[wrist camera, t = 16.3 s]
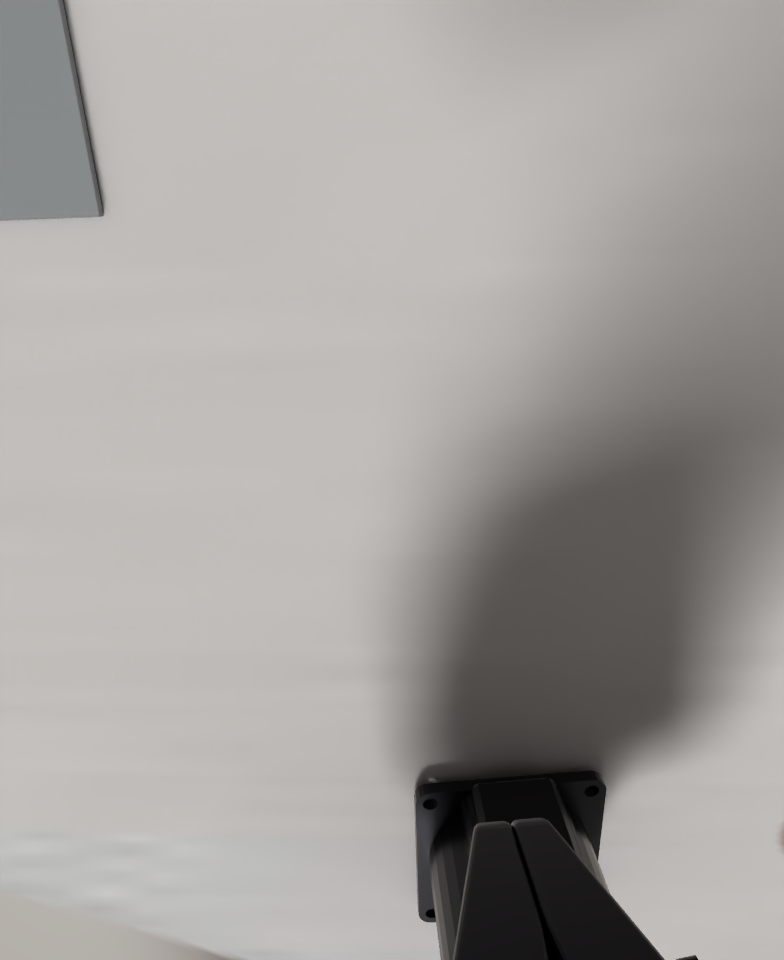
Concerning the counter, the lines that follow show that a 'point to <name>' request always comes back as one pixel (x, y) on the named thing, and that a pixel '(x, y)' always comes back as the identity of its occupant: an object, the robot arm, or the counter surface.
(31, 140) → the mat
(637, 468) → the counter surface
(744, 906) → the counter surface
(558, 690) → the counter surface
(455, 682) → the counter surface
